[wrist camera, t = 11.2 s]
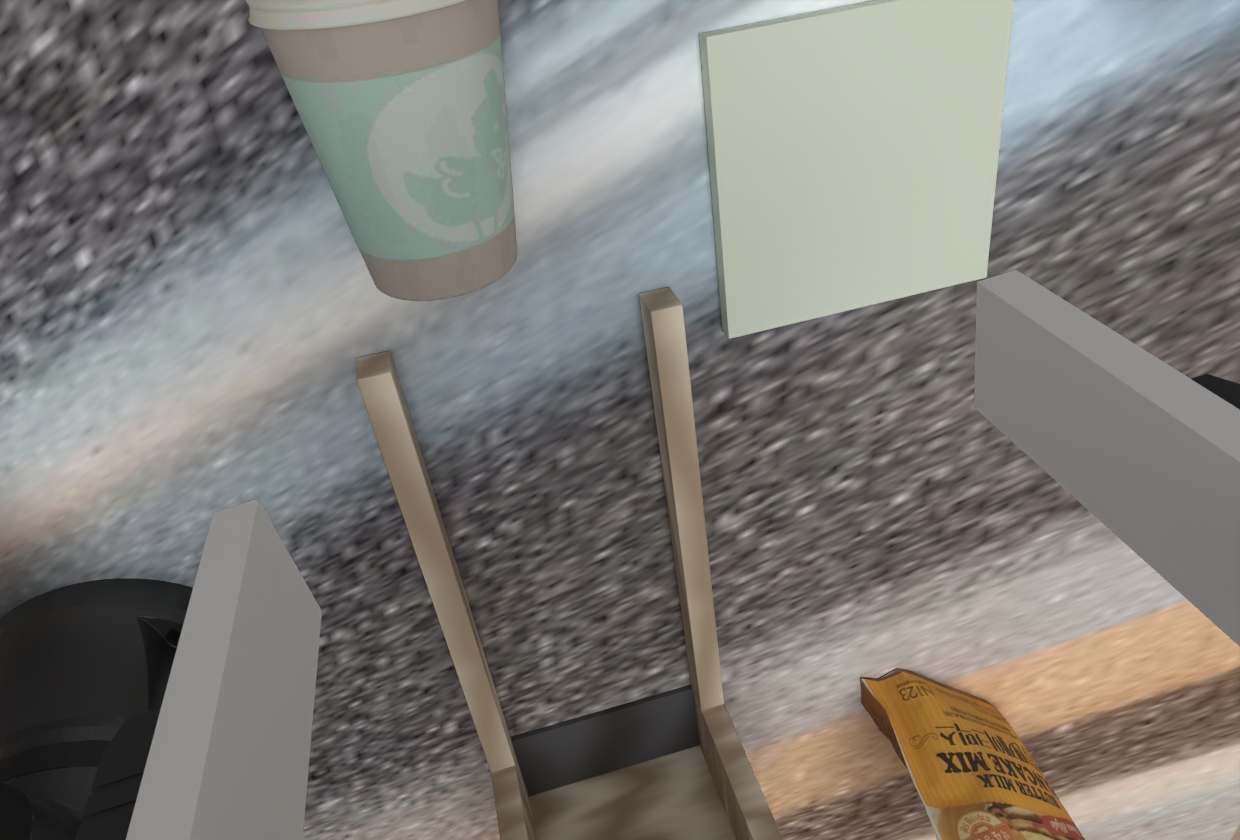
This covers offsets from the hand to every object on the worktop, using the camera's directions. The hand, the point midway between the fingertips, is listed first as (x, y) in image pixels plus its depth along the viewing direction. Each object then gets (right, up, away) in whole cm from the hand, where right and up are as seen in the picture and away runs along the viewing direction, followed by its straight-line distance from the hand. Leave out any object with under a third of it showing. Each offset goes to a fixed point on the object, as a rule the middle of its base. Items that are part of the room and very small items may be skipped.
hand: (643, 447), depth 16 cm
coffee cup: (-7, +7, +20) cm, 22 cm away
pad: (+11, +13, +26) cm, 30 cm away
